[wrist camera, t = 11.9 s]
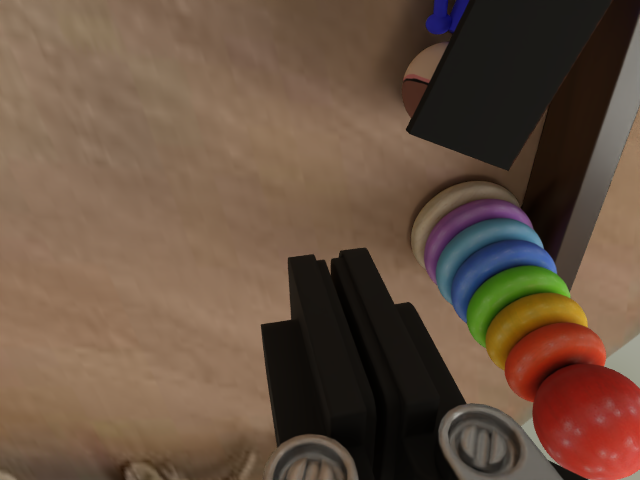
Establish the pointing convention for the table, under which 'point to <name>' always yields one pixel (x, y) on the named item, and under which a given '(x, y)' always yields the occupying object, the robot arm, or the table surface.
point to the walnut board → (585, 138)
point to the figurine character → (494, 72)
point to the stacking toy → (530, 327)
